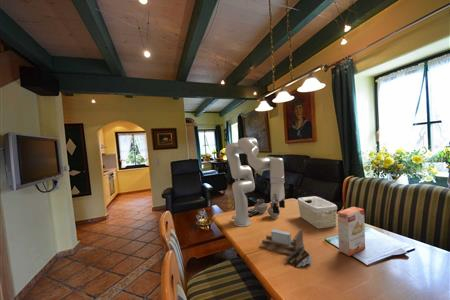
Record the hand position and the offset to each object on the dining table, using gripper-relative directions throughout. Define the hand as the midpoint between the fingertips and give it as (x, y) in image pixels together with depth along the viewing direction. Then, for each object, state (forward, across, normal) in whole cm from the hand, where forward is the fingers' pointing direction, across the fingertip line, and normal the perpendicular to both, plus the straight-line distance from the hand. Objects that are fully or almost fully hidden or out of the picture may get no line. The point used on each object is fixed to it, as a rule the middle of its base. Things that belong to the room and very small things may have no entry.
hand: (279, 210), depth 107 cm
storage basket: (+21, -42, +12) cm, 48 cm away
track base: (+20, 0, 0) cm, 20 cm away
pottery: (+21, -40, -25) cm, 51 cm away
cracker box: (+20, -13, +33) cm, 41 cm away
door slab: (+19, 0, 0) cm, 19 cm away
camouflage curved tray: (+21, +10, +13) cm, 27 cm away
